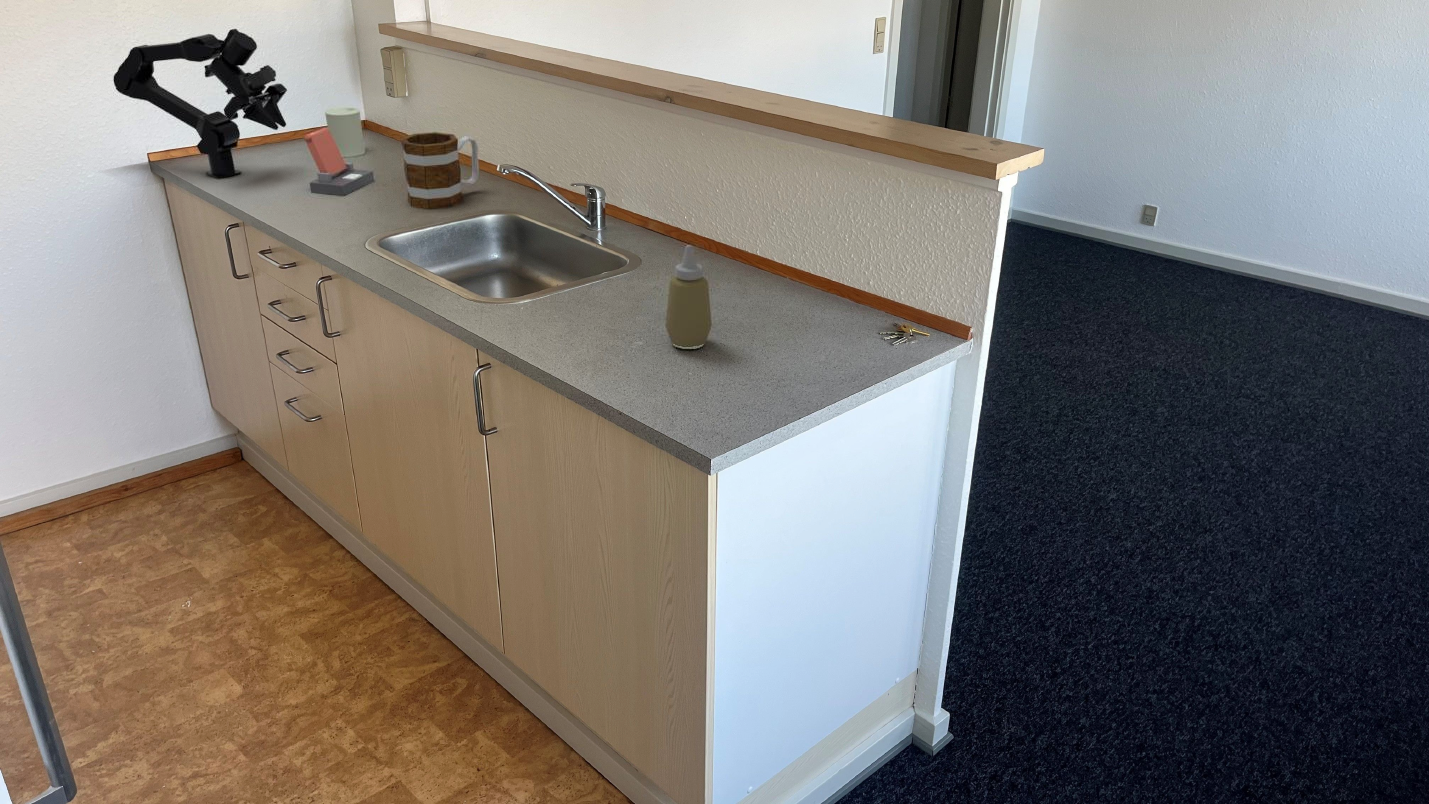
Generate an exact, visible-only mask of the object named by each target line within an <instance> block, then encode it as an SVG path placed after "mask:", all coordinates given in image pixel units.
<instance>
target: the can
mask: <svg viewBox="0 0 1429 804" xmlns="http://www.w3.org/2000/svg"><path fill="white" fill-rule="evenodd" d="M324 115H325V119H326V120H325V121H326V124H327V125H326V128H328V129H329V130H330V132H331V134H332V136H333V138H334V141H335V143H336V145H337V147H338V149H339V151H340V154H341V156H342V158H354V157H355V158H356V157H359V156H362V155H364V154H366V148H365V143H364V136H363V135H364V134H363V128H362V121H361V120H362V119H361V111H360V109H359V108H356V107H334V108H329V109H326V110H325V111H324Z"/></svg>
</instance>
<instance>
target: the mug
mask: <svg viewBox="0 0 1429 804" xmlns="http://www.w3.org/2000/svg"><path fill="white" fill-rule="evenodd" d="M400 142H401V146H402V151H403V161H404V162H403V163H404V164H403V167H404V168H403V169H404V174H405V179H406V186H407V202H408V204H409V206H410V207H412V208H418V209H424V210H436V209H437V210H438V209H447V208H453V207H455V206H457V205H459V204H461V203H464V197H463V193H462V185H465V186H467V185H468V186H471V185H473V184H474V183H476V182H477V181H478V177H479V173H480V172H479V171H480V169H479V146H478V144H477V141H476V139H475V138H474V137H471V136H468V135H465V136H463V137H461V138H460V139H458V138H457V137H456V136H455V134H453V133H446V132H445V133H444V132H438V131H437V132H436V131H434V132H424V133H423V132H422V133H420V132H419V133H412V134H408V135H407V136H404V137H401V138H400ZM467 142H470V144H471V145H470V146H471V167H472V169H471V170H472V174H471V177H470V178H469V179H467V180H466V179H461V175H462V174H461V173H462V172H461V166H460V165H461V164H460V161H459V151H461V150H462V149H463V147H464V145H465V144H466V143H467Z"/></svg>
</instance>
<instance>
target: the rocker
mask: <svg viewBox="0 0 1429 804" xmlns="http://www.w3.org/2000/svg"><path fill="white" fill-rule="evenodd" d="M304 140H305V144H306V146H307V148H308V150H309V152H310V154H311V156H312V158H313V160H314V163H315V165H316V167H317V169H318V171H319V172H323V173H331V175H333V174H335V173H337V172H340V171H342V170H344V169H346V168H347V167H346V165H345V163H346V162H345V160H344V157H342V156H341V154H340V151H339V149H338V147H337V145H336V143H335V141H334V138H333V136H332V134H331V132H330V130H329V129H328V127H327V126H326V127H324V128H320V129H317V130H314V131H313V132H309V133H307V134H305V135H304Z"/></svg>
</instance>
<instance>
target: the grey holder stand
mask: <svg viewBox="0 0 1429 804" xmlns="http://www.w3.org/2000/svg"><path fill="white" fill-rule="evenodd" d="M345 165H346V167H347V168H346V169H344V170H342V171H340V172H337V173H335V174H333V175H331V173H323V172H320V171H319V172H317V178H316V179H315V180H312V181H310V182H309V188H310V193H313V194H323V195H333V196H339V197H344V196H347V195H348V194H351V193H353V192H354V191H356V190H358V189H361V188H363V187H364V186H366V185H369V184H370V183H373V182H374V181H375V178H374V171H373V170H367V169H366V170H364V169H354V168H355V167H354V163H353V162H352V163H351V162H345Z"/></svg>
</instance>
